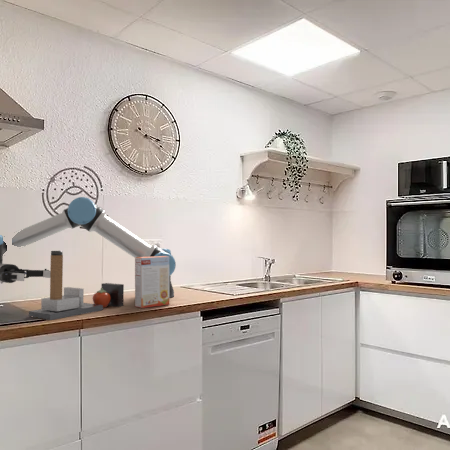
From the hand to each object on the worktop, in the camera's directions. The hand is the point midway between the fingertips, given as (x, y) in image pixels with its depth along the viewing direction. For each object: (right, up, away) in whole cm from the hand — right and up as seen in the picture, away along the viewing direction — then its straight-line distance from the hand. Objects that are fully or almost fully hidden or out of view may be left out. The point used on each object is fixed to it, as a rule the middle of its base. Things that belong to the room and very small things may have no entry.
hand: (39, 276), depth 167 cm
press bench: (+14, -14, +5) cm, 21 cm away
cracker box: (+40, -15, +18) cm, 46 cm away
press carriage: (+10, -12, -3) cm, 15 cm away
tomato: (+20, -15, +14) cm, 28 cm away
